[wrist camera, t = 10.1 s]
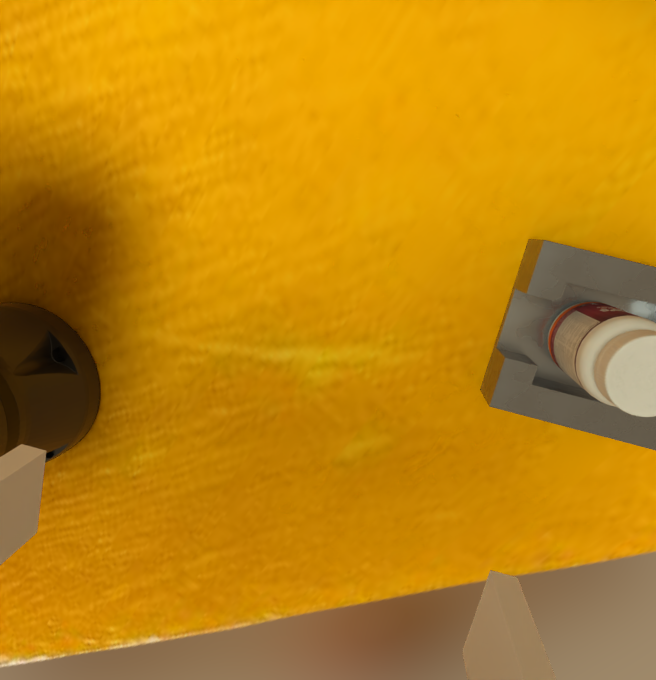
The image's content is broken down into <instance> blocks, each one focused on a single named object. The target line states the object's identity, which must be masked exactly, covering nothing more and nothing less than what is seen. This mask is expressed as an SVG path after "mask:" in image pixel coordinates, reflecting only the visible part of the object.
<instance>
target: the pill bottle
mask: <svg viewBox="0 0 656 680" xmlns="http://www.w3.org/2000/svg"><path fill="white" fill-rule="evenodd" d="M548 350H549V353H550V355H551V358H552V359H553V361H554V362H555V363H556V365H557V366H558V367H559V368H560V369H561V370H562V371H563V372H565V373H566V374H567V375H568V376H569V377H571V378H572V379H573V380H574V381H575V382H576V383H577V384H579V385H580V386H581V387H582V388H583V389H584V390H585V391H587V392H588V393H589V394H590V395H591V396H593V397H594V398H596V399H597V400H599V401H600V402H602V403H605V404H607V405H610V406H614V407H618V408H619V409H621V410H622V411H624V412H626V413H628V414H631V415H634V416H639V417H654V416H656V323H655V322H652V321H650V320H648V319H646V318H643V317H640V316H637V315H634V314H631V313H629V312H626V311H624V310H621V309H618V308H616V307H613V306H610V305H607V304H604V303H600V302H593V301H590V302H582V303H577V304H575V305H572V306H570V307H568V308H567V309H565V310H564V311H562V312H561V313H560V314H559V315H558V316H557V317H556V319H555V320H554V321H553V323H552V325H551V327H550V330H549V333H548Z"/></svg>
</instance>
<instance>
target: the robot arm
mask: <svg viewBox="0 0 656 680" xmlns="http://www.w3.org/2000/svg"><path fill="white" fill-rule="evenodd" d="M99 399H100V385H99V378H98V373H97V369H96V366H95V363H94V361H93V358H92V356H91V354H90V352H89V350H88V348H87V347H86V345H85V344H84V342H83V341H82V339H81V338H80V337H79V336H78V334H77V333H76V332H75V331H74V330H73V329H72V328H71V327H70V326H69V325H68V324H67V323H65V322H64V321H63V320H61V319H60V318H59V317H57V316H56V315H54V314H52V313H50V312H48V311H46V310H44V309H42V308H39V307H36V306H33V305H29V304H24V303H1V304H0V565H1V564H2V563H3V562H4V561H5V560H7V559H8V558H9V557H10V556H11V555H12V554H13V553H14V552H16V551H17V550H18V549H19V548H20V547H21V546H22V545H24V544H25V543H26V542H27V541H28V540H29V539H30V538H31V537H33V536H34V535H35V534H36V533H37V528H38V519H39V511H40V502H41V493H42V485H43V476H44V468H45V462H47V461H50V460H52V459H54V458H56V457H58V456H60V455H61V454H63V453H64V452H66V451H67V450H68V449H70V448H71V447H73V446H74V445H76V444H77V443H78V442H79V441H80V440H81V439H82V438H83V437H84V436H85V435H86V434H87V432H88V431H89V429H90V428H91V426H92V424H93V422H94V420H95V417H96V414H97V411H98V406H99ZM462 652H463V657H464V663H465V668H466V673H467V679H468V680H556V677H555V675H554V672H553V670H552V667H551V664H550V662H549V659H548V656H547V654H546V651H545V649H544V646H543V643H542V641H541V638H540V636H539V633H538V630H537V628H536V625H535V622H534V620H533V617H532V614H531V612H530V609H529V607H528V604H527V601H526V599H525V596H524V593H523V591H522V588H521V586H520V583H519V580H518V578H517V577H513V576H510V575H506V574H502V573H499V572H495V571H491V570H490V573H489V576H488V579H487V581H486V584H485V587H484V590H483V593H482V596H481V599H480V602H479V605H478V607H477V610H476V613H475V616H474V619H473V622H472V625H471V627H470V630H469V633H468V636H467V639H466V642H465V644H464V647H463V650H462Z"/></svg>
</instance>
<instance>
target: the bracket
mask: <svg viewBox="0 0 656 680" xmlns="http://www.w3.org/2000/svg"><path fill="white" fill-rule="evenodd" d="M590 301H593V302H600V303H604V304H607V305H610V306H613V307H616V308H618V309H621V310H624V311H626V312H629V313H631V314H634V315H637V316H640V317H643V318H646V319H648V320H650V321H652V322H655V323H656V267H652V266H648V265H644V264H640V263H636V262H632V261H628V260H624V259H619V258H615V257H611V256H607V255H603V254H599V253H595V252H591V251H587V250H583V249H578V248H574V247H570V246H566V245H562V244H558V243H554V242H550V241H546V240H536V239H529V240H528V243H527V246H526V249H525V253H524V256H523V259H522V262H521V265H520V268H519V271H518V274H517V277H516V280H515V284H514V287H513V290H512V293H511V296H510V299H509V302H508V305H507V308H506V311H505V314H504V318H503V321H502V324H501V327H500V330H499V333H498V336H497V339H496V342H495V345H494V349H493V352H492V355H491V358H490V361H489V364H488V367H487V370H486V373H485V376H484V380H483V383H482V386H481V389H480V390H481V392H482V394H483V396H484V398H485V399H486V401H487V403H488V405H489V406H490V407H494V408H498V409H502V410H505V411H509V412H513V413H517V414H520V415H524V416H528V417H532V418H536V419H539V420H543V421H547V422H551V423H555V424H558V425H562V426H566V427H570V428H573V429H577V430H581V431H585V432H589V433H592V434H596V435H600V436H604V437H608V438H611V439H615V440H619V441H623V442H626V443H630V444H634V445H638V446H642V447H645V448H649V449H653V450H656V416H654V417H639V416H634V415H631V414H628V413H626V412H624V411H622V410H621V409H619V408H618V407H614V406H610V405H607V404H605V403H602V402H600V401H599V400H597V399H596V398H594V397H593V396H591V395H590V394H589V393H588V392H587V391H585V390H584V389H583V388H582V387H581V386H580V385H579V384H577V383H576V382H575V381H574V380H573V379H572V378H571V377H569V376H568V375H567V374H566V373H565V372H563V371H562V370H561V369H560V368H559V367H558V366H557V365H556V363H555V362H554V361H553V359H552V358H551V355H550V353H549V350H548V333H549V330H550V327H551V325H552V323H553V321H554V320H555V319H556V317H557V316H558V315H559V314H560V313H561V312H562V311H564V310H565V309H567V308H568V307H570V306H572V305H575V304H577V303H582V302H590Z"/></svg>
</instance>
